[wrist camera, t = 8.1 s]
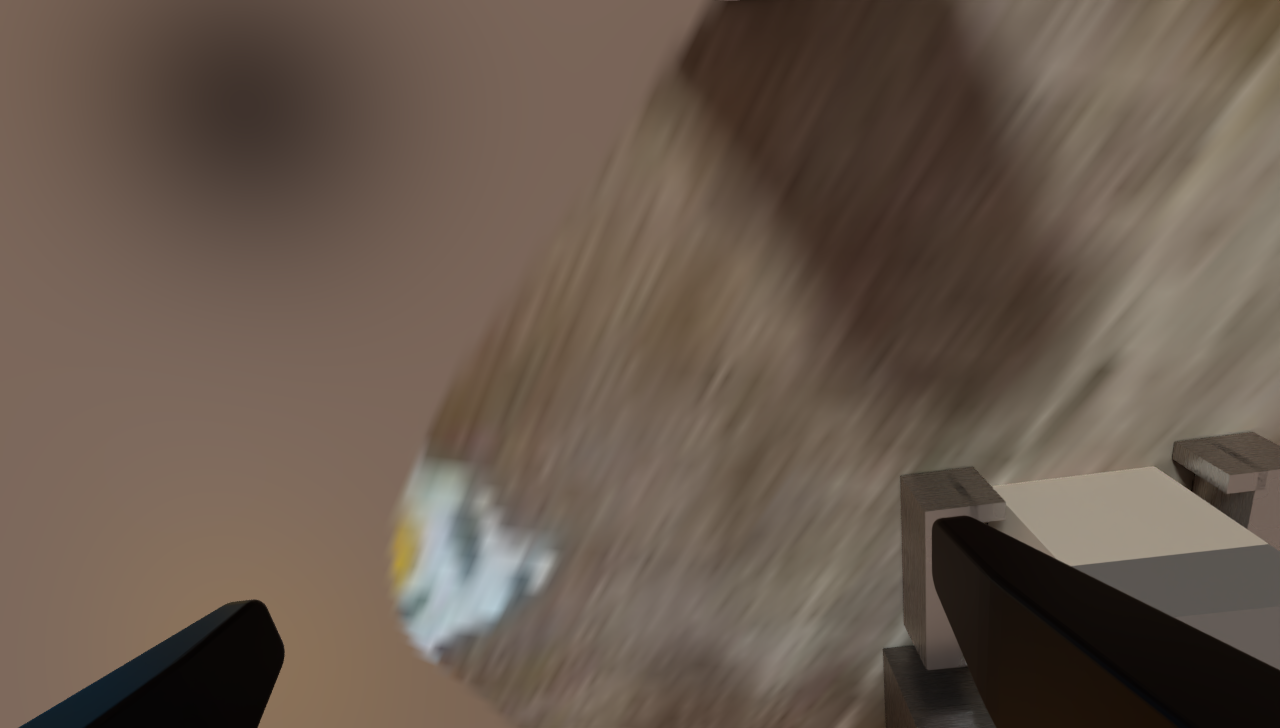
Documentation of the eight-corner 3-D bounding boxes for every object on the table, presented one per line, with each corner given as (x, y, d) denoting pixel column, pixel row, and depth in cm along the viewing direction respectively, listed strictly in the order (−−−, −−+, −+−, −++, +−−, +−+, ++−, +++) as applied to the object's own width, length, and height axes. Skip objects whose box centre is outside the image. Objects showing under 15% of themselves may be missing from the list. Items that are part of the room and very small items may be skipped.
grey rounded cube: (1153, 465, 20) (1349, 598, 14) (1136, 593, 21) (1305, 758, 16) (988, 485, 20) (1115, 623, 15) (984, 609, 22) (1097, 775, 16)
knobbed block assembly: (876, 478, 20) (938, 579, 16) (1279, 428, 19) (1470, 521, 15) (886, 730, 24) (938, 869, 19) (1223, 699, 23) (1361, 839, 18)
